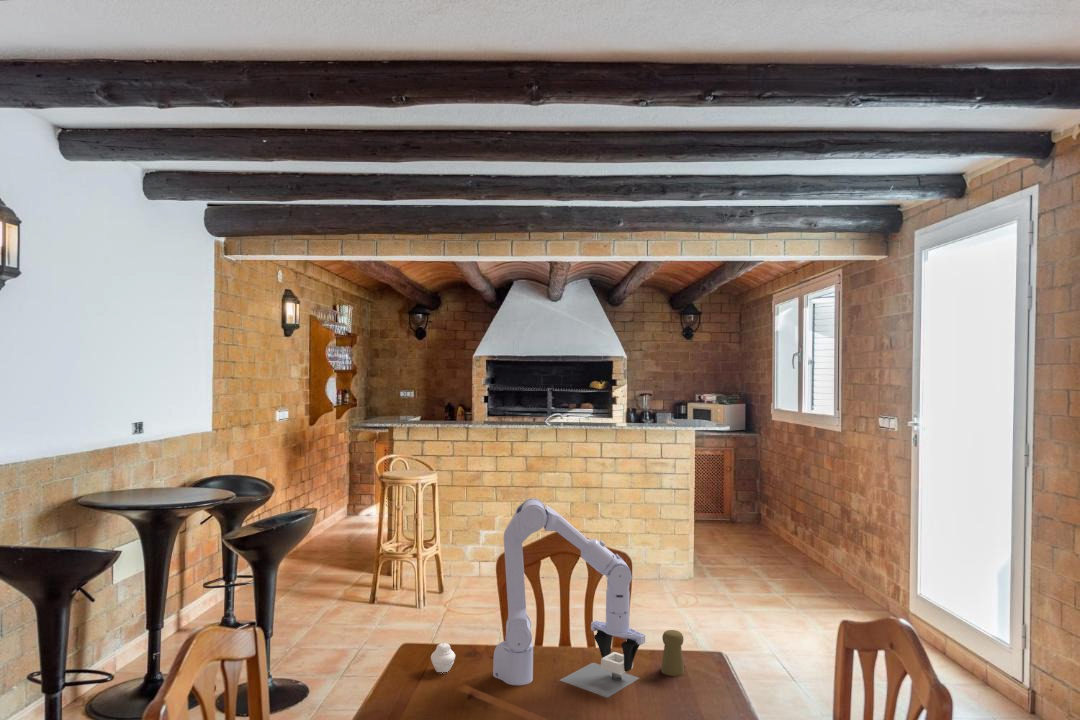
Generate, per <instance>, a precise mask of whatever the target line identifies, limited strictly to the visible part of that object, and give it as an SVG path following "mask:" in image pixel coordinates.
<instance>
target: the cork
mask: <svg viewBox="0 0 1080 720" xmlns="http://www.w3.org/2000/svg"><path fill="white" fill-rule="evenodd" d="M684 640H685V639H684V635H683V634H682V632H681V631H679V630H677V629H676V630H675V629H669V630H668V629H667V630H665V631H664V632H663V634H662V642H663V644H664V645H663V647H664V648H663V652H662V653H663V655H662V659H661V660H662V661H661V668H660V671H661V673H662V674H664V675H667V676H671V677H681V676H683V675H684V674H685V666H684V657H683V650H682V646H683V643H684Z"/></svg>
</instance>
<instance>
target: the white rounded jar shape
mask: <svg viewBox="0 0 1080 720" xmlns="http://www.w3.org/2000/svg"><path fill="white" fill-rule="evenodd" d="M430 660H431V663H432V665H433V668H434V669H435V672H436V673H438V672H442V673H443V672H447V673H449V672H450V671H449V670H451V668H452V666H453V665H454V663H455V660H456V654H455V652H454V651H453V650H452V649H451V645H450V644H449V643H448V642H447V643H446V642H442V643H438V644H437V646H436V649H435V650H434V651H433V652H432V653H431V656H430ZM448 671H449V672H448ZM442 673H441V674H442ZM443 674H444V673H443Z"/></svg>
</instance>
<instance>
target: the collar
mask: <svg viewBox="0 0 1080 720" xmlns="http://www.w3.org/2000/svg"><path fill="white" fill-rule="evenodd" d="M616 661H617V662H616ZM619 662H620V663H619ZM600 665H601V669H604V670H607V671H610V672H613V673H616V674H619V675H621V674H623V673H627V672H626V671H625V670H624V654H623V653H619V652H616V651H613V652H611V654H609V655H607V656H605V657H603V658H602V657H601V658H600ZM632 669H634V662H633V663H632V668H631V670H632Z"/></svg>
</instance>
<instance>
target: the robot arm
mask: <svg viewBox="0 0 1080 720" xmlns="http://www.w3.org/2000/svg"><path fill="white" fill-rule="evenodd" d="M506 526H507V527H505V529H504V531H503V549H504V565H505V581H506V594H507V595H506V597H507V598H506V599H507V612H508V613H507V614H508V615H507V620H506V622H505V630H506V631H505V638H504V639H505V640H504V641H500V642H499V643H498V644H497V645H496V646H495V649H494V652H493V661H492V662H493V663H492V665H493V666H492V667H493V670H492V673H493V674H492V676H493V677H494V678H495V679H498V680H501V681H502V682H504V683H506V684H508V685H512V686H524V685H528V684H530V683H532V682H533V679H534V677H533V676H534V643H533V641H532V640H533V635H532V621H531V619H530V617H529V616H528V612H527V601H526V598H527V597H526V583H525V567H524V564H525V563H524V552H523V551H524V550H523V543H524V541H525V540H526V539H528V537H530V536H531V535H532V534H534V533H537V532H538V531H541V529H543V528H544V531H545V532H555V533H556V532H557V533H558V534H559V535H560V536H561V537H563V538H564V539H565V540H566V541H568V542H569V543H570V544H572V545H573V546H575V548H577V549H579V550H580V558H581V559H582V560H583V561H585V563H587V564H588V565H590V567H592V568H593V569H594V570H595V571H596V572H598V573H599V574H601V575H602V576H603V575H604V576H605V577H606V578H607V579H606V590H605V593H606V594H605V621H598V620H594V621H591V622H590V631H591V632H596V634H594V635H593V638H594V641H595V642H596V645H597V646H598V649H599V652H600V655H601V658H603V657H605V656H607V655H609V654H611V653H612V641H613V638H614V637H616V638H620V639H623V640H626V641H624V642H621V644H620V645H621V648H622V654H623V655H624V670H625V671H626V672H625V673H628V672H629V671H631V670H632V669H633V668H632V663H633V664H634V660H635V656H636V654H637V651H638V649H639V647H640V646H641V645H643V644H646V634H645V633H641V632H639V631H637V630H636V629H633V628H631V627H630V585H631V582H632V580H633V575H632V572H631V569H630V567H629V566H628V564H627V563H626V561H624V558H623V557H620V555H619V554H618V553H616V554H615V553H613V551H611V550H610V549H608V547H606V543H605V542H604V541H603V540H602V539H601V540H600V541H599V540H598V539H597V538H594V539H593V538H591V539H590V538H589V539H588V538H587V537H586V536H585V535H584V534H583V533H581V532H580V531H579V530H578V529H577V528H576V527H575V526H573V525H572V523H570V522H569V521H568V520H567V519H565V518H564V517H563V516H562V515H561V514H560V513H559V512H557V511H556V510H555V509H554V508H552V507H550V506H549V505H547V504H546V505H545V504H544V503H543V502H542V501H541V499H538V498H534V497H532V498H528V499H526V500H525V501H523V502H522V503H521V504H520V505H519V506H517V508H516V510H515V511H514V514H513V516H512V518H511V519H510V521H509V522H508V524H507V525H506ZM631 668H632V669H631Z"/></svg>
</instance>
